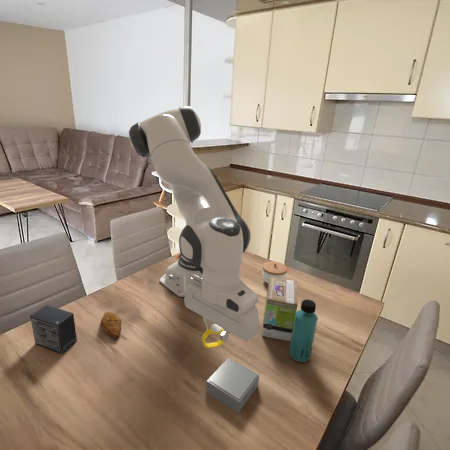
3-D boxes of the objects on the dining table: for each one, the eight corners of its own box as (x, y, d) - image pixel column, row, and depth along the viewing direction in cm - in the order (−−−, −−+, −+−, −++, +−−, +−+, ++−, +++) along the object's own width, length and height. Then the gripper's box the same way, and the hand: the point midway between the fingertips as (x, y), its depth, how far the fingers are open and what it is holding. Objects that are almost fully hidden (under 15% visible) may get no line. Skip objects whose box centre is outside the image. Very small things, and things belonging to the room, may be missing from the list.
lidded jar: (256, 283, 132) (258, 264, 129) (266, 273, 141) (269, 255, 138) (279, 292, 127) (282, 272, 124) (288, 281, 136) (291, 262, 132)
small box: (78, 340, 94) (75, 312, 91) (61, 354, 89) (57, 325, 85) (52, 331, 97) (47, 303, 94) (34, 344, 92) (28, 315, 88)
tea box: (291, 342, 100) (298, 304, 94) (261, 336, 101) (266, 298, 96) (291, 314, 113) (297, 280, 108) (264, 309, 115) (269, 275, 110)
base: (206, 392, 80) (206, 380, 78) (227, 368, 88) (228, 357, 86) (238, 413, 75) (239, 401, 73) (257, 386, 83) (259, 374, 81)
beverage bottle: (297, 369, 89) (308, 312, 82) (283, 353, 95) (292, 299, 87) (314, 362, 92) (326, 306, 85) (299, 347, 97) (309, 294, 90)
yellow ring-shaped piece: (203, 352, 74) (205, 334, 72) (200, 344, 77) (201, 326, 74) (226, 347, 76) (228, 329, 74) (222, 338, 79) (224, 321, 76)
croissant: (96, 319, 104) (94, 307, 102) (116, 313, 108) (115, 302, 106) (105, 344, 94) (104, 331, 92) (127, 337, 97) (126, 324, 95)
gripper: (179, 276, 74) (178, 323, 79) (249, 312, 62) (243, 364, 67) (196, 267, 79) (195, 312, 83) (264, 299, 67) (258, 348, 72)
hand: (217, 335), depth 75 cm, fingers closed on yellow ring-shaped piece, 3 cm apart
